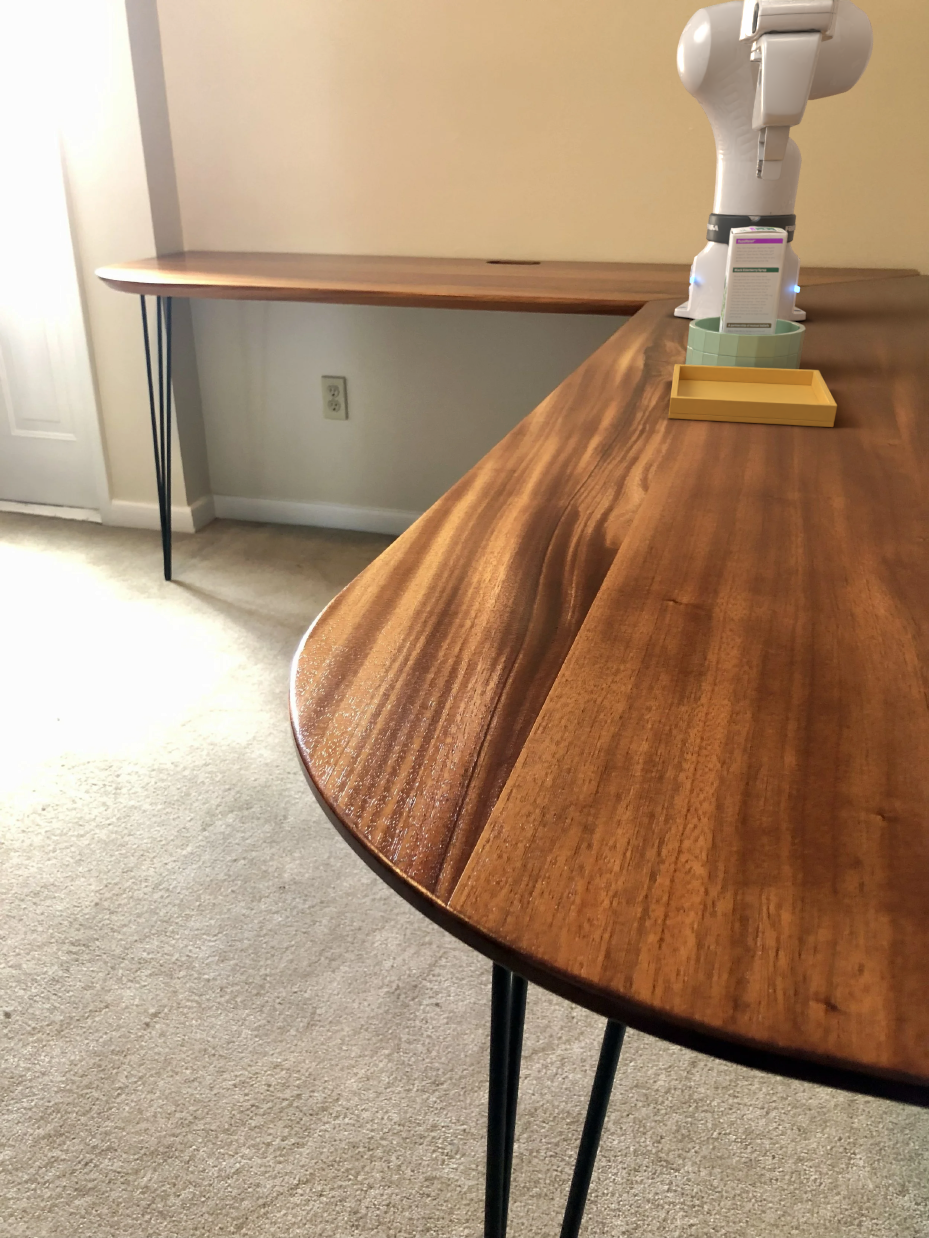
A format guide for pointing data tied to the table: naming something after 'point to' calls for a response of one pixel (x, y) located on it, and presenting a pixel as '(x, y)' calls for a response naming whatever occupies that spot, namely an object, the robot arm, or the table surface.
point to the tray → (751, 395)
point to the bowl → (745, 346)
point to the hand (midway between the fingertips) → (767, 179)
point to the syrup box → (753, 280)
